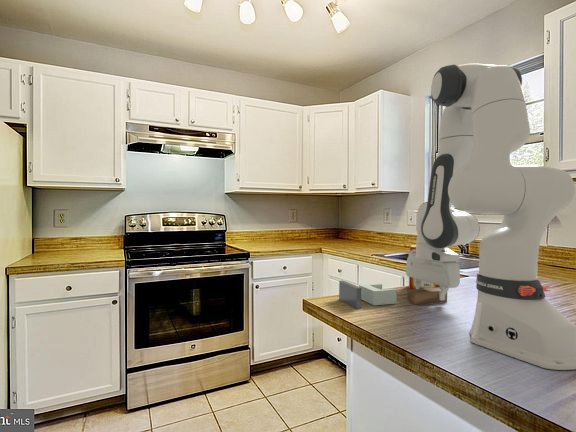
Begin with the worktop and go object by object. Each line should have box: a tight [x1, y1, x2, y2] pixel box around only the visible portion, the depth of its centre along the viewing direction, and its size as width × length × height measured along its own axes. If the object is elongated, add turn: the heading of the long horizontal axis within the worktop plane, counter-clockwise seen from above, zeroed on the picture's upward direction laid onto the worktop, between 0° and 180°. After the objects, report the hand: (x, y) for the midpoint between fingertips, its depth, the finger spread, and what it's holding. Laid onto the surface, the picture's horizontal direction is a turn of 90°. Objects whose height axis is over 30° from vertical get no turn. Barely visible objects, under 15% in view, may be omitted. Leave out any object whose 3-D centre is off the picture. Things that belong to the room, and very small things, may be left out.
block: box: [358, 283, 398, 306], centre depth 109 cm, size 9×8×4 cm
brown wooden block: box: [406, 287, 448, 306], centre depth 109 cm, size 4×12×4 cm, turn 109°
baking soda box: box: [408, 244, 439, 290], centre depth 126 cm, size 10×6×16 cm
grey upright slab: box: [338, 280, 362, 310], centre depth 105 cm, size 11×2×6 cm, turn 19°
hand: (430, 296), depth 109 cm, fingers open, 8 cm apart
